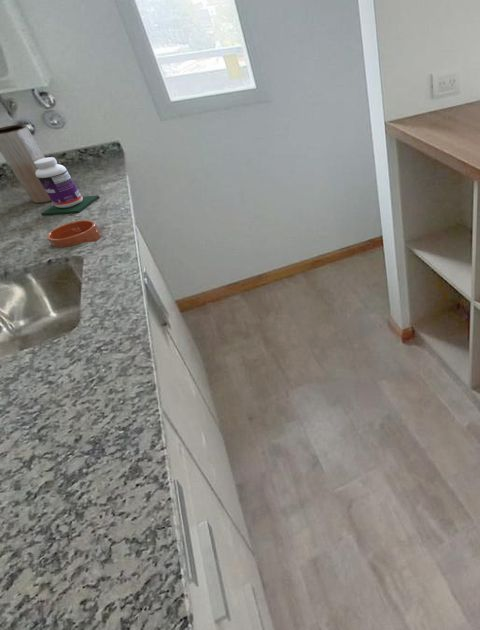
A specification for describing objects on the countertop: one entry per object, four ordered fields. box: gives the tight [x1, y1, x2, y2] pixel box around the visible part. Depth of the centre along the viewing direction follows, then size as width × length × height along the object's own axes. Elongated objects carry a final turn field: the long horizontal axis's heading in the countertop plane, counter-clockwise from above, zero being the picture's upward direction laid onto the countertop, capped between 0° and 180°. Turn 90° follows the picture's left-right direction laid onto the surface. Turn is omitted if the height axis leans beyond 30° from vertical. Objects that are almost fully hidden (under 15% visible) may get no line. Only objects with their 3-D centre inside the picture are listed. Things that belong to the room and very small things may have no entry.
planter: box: [0, 124, 52, 204], centre depth 145 cm, size 10×10×23 cm
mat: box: [40, 195, 100, 217], centre depth 144 cm, size 12×12×1 cm
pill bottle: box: [34, 156, 83, 208], centre depth 139 cm, size 8×8×14 cm
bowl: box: [46, 219, 102, 248], centre depth 122 cm, size 12×12×4 cm
